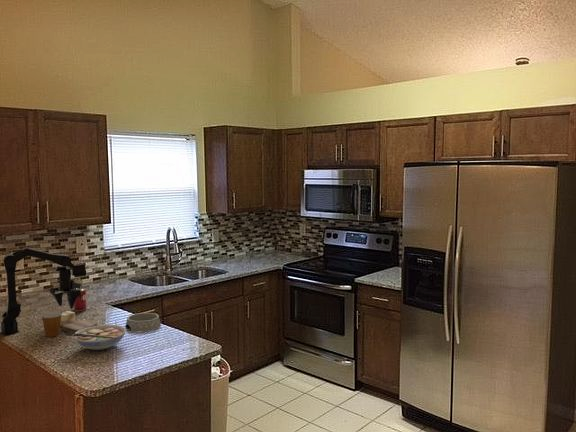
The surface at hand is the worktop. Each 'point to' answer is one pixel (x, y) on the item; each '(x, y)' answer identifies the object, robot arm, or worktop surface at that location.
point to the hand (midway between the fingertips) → (66, 307)
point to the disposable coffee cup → (51, 322)
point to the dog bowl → (143, 321)
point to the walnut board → (77, 326)
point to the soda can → (80, 302)
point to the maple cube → (67, 318)
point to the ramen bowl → (99, 336)
